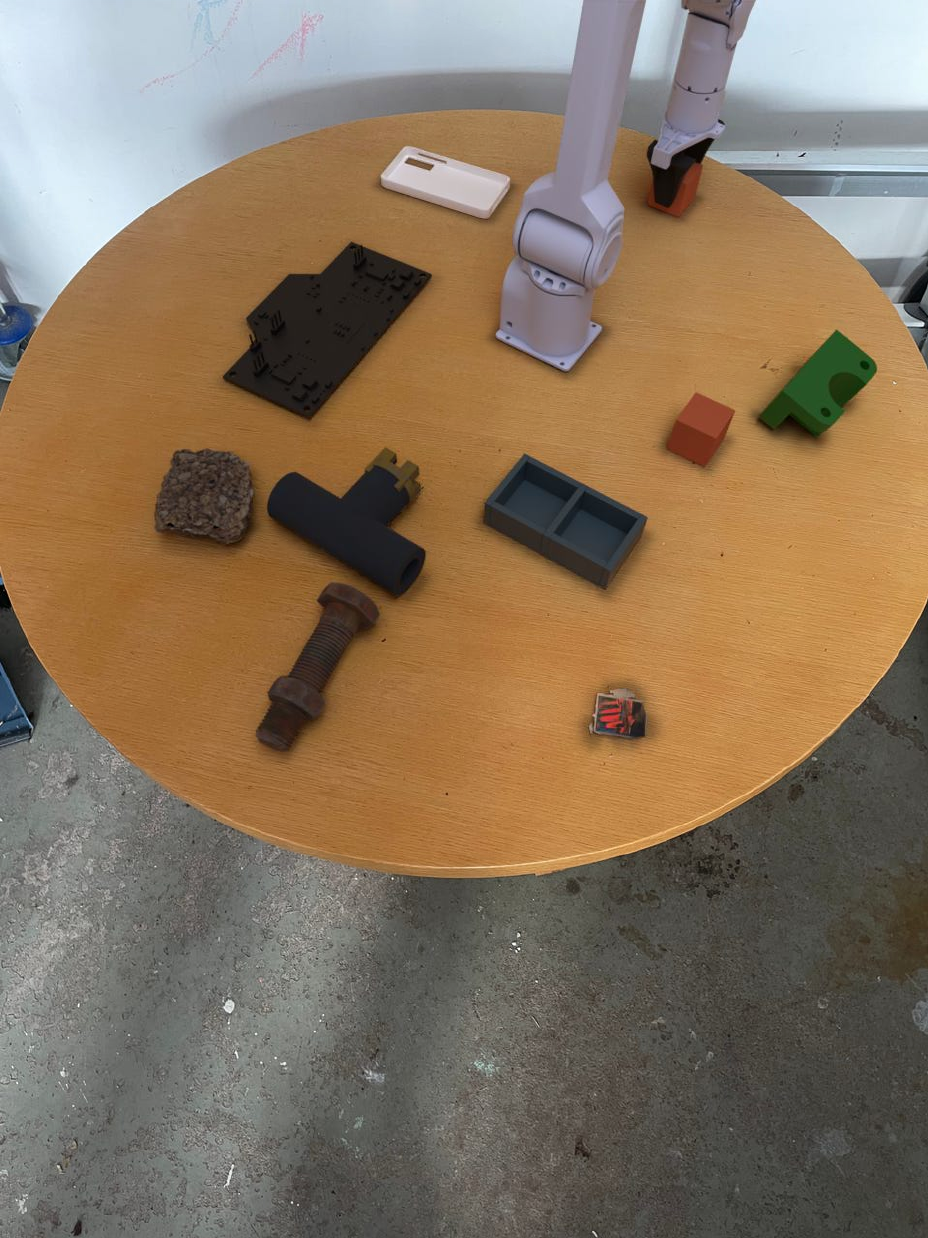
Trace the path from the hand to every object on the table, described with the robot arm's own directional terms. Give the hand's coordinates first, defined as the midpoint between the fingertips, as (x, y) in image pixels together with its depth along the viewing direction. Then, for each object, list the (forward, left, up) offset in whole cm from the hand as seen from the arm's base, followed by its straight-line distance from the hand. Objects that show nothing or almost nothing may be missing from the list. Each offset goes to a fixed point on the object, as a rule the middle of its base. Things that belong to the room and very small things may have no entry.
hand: (673, 191), depth 107 cm
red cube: (+20, -33, -1) cm, 39 cm away
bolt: (+4, -76, -2) cm, 77 cm away
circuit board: (-23, -41, -2) cm, 47 cm away
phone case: (-25, -13, -2) cm, 28 cm away
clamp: (+28, -22, -2) cm, 36 cm away
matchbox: (+28, -64, -1) cm, 70 cm away
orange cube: (0, 0, -1) cm, 1 cm away
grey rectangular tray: (+14, -50, -1) cm, 52 cm away
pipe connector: (-2, -60, -2) cm, 61 cm away
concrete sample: (-16, -67, -2) cm, 69 cm away
